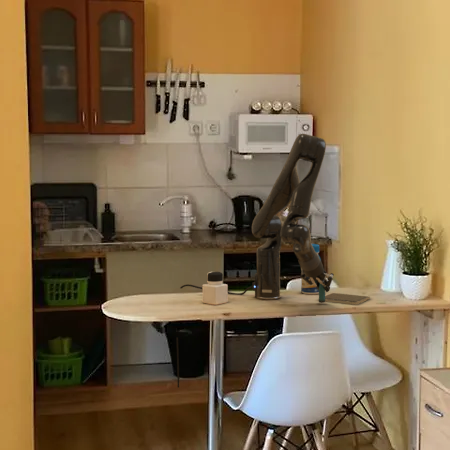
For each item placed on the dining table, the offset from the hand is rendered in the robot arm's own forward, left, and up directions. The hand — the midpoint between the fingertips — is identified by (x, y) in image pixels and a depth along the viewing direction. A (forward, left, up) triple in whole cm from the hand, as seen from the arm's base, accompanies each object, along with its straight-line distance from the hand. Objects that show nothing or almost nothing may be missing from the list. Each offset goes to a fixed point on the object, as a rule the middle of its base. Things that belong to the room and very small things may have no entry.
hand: (324, 289), depth 288 cm
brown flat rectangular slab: (+4, +10, -5) cm, 12 cm away
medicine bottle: (-37, -20, -5) cm, 42 cm away
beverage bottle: (-14, +17, -5) cm, 23 cm away
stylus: (0, -2, -4) cm, 5 cm away
